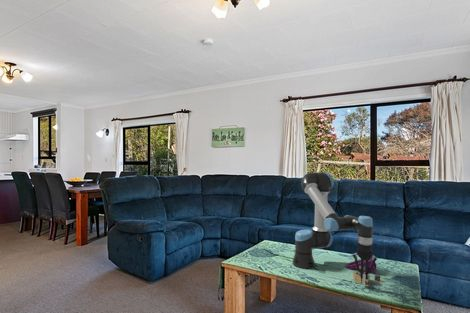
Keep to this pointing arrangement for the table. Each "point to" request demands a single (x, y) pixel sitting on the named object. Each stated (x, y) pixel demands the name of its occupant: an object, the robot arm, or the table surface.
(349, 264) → the mounting bracket
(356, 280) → the collar
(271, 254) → the table surface
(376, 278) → the base
